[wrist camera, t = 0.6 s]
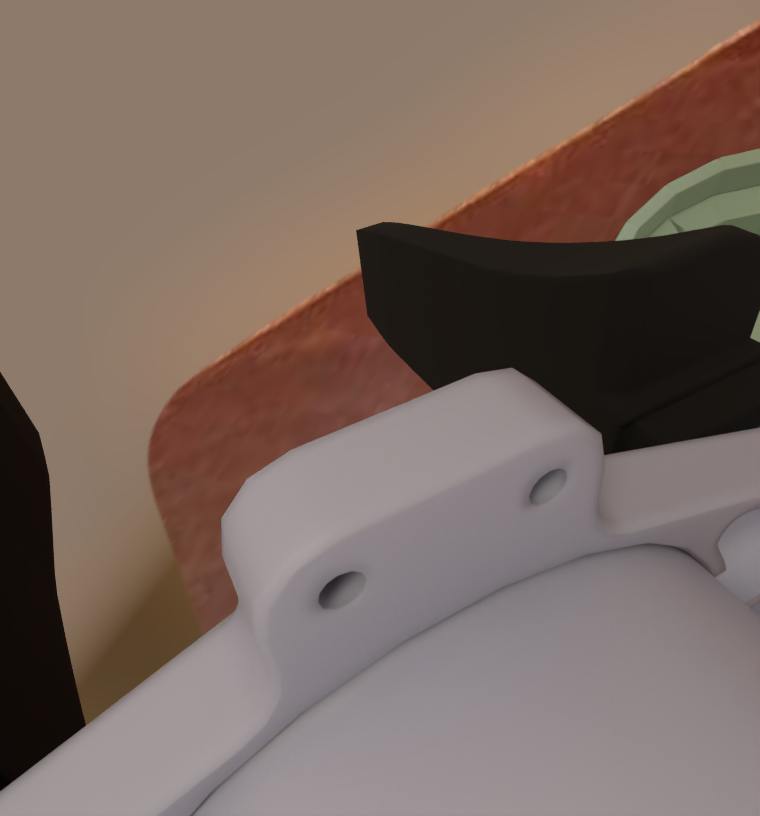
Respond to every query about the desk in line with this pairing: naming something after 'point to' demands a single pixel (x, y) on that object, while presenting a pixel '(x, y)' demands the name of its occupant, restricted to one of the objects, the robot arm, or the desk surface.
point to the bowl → (704, 202)
